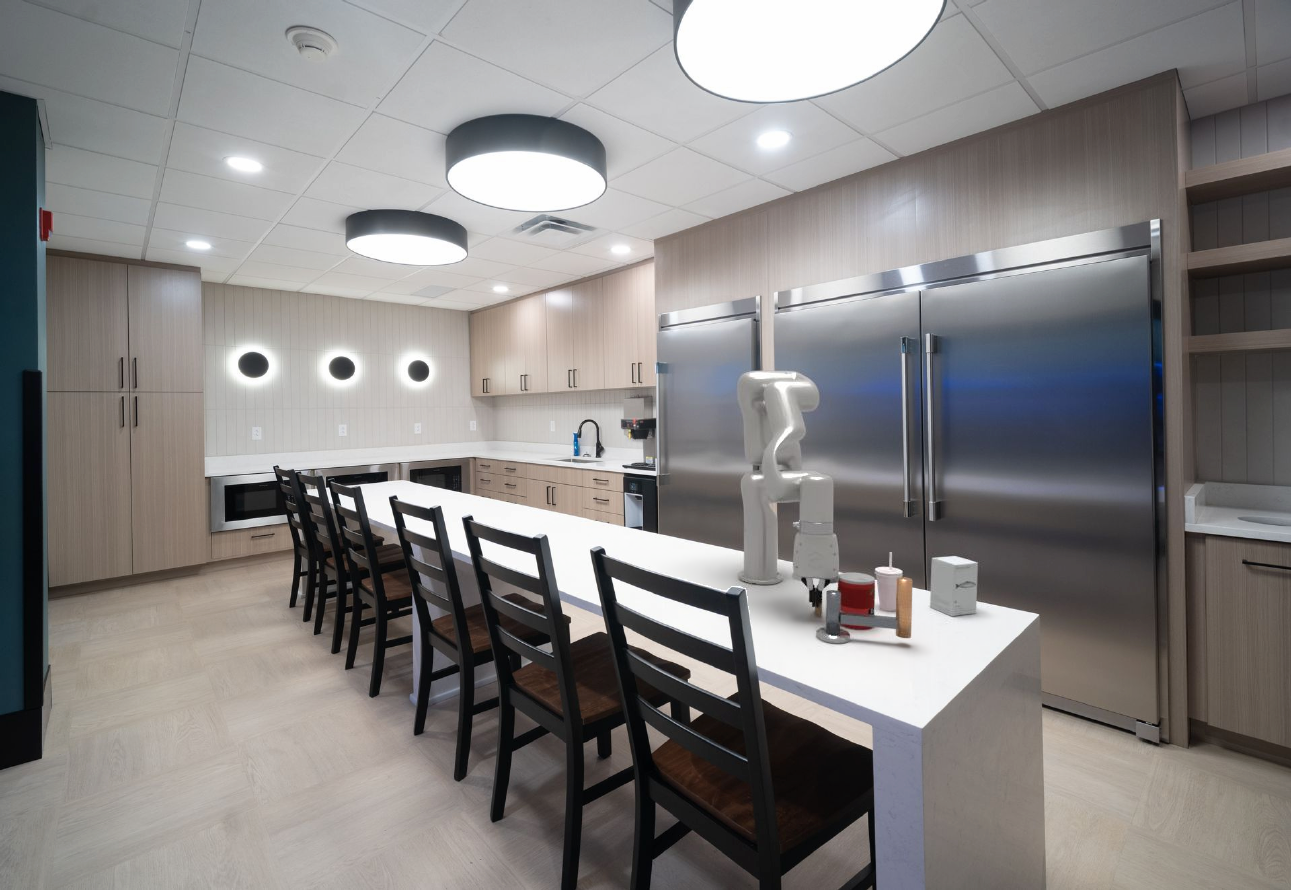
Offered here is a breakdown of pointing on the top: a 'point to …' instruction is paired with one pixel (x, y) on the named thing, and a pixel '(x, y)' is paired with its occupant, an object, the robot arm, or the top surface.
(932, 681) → the top surface
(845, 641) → the pivot base
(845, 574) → the canned food
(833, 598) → the double handled crank lever
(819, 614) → the brown wooden block
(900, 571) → the smoothie
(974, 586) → the supplement box
